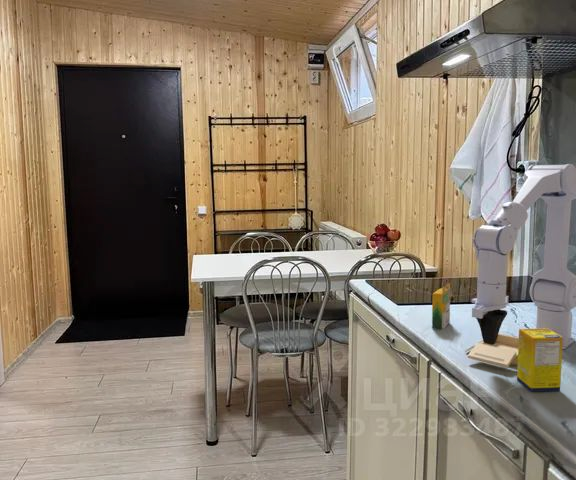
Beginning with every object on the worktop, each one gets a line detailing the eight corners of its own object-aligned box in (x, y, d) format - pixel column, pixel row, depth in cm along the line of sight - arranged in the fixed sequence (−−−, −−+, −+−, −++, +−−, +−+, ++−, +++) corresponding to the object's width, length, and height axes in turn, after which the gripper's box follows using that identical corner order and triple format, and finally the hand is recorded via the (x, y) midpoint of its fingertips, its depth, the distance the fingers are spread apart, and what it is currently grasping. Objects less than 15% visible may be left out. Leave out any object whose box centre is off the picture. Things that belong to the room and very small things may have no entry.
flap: (467, 355, 112) (468, 358, 113) (507, 364, 106) (507, 368, 107) (477, 342, 115) (477, 345, 116) (515, 351, 110) (516, 354, 110)
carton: (489, 338, 129) (490, 328, 129) (554, 352, 119) (554, 341, 118) (464, 353, 119) (464, 343, 118) (532, 370, 108) (533, 358, 108)
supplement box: (544, 379, 104) (547, 327, 102) (560, 391, 98) (564, 336, 96) (515, 379, 104) (518, 328, 102) (530, 392, 98) (533, 337, 96)
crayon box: (439, 321, 144) (440, 281, 143) (449, 322, 143) (451, 282, 141) (431, 328, 138) (432, 286, 137) (442, 329, 137) (443, 287, 135)
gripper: (487, 273, 116) (485, 331, 117) (458, 284, 105) (456, 347, 107) (519, 277, 111) (516, 337, 113) (492, 289, 100) (489, 355, 102)
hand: (489, 343), depth 109 cm, fingers closed
